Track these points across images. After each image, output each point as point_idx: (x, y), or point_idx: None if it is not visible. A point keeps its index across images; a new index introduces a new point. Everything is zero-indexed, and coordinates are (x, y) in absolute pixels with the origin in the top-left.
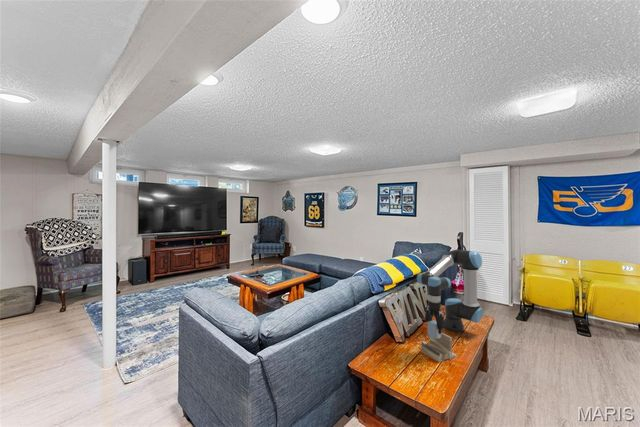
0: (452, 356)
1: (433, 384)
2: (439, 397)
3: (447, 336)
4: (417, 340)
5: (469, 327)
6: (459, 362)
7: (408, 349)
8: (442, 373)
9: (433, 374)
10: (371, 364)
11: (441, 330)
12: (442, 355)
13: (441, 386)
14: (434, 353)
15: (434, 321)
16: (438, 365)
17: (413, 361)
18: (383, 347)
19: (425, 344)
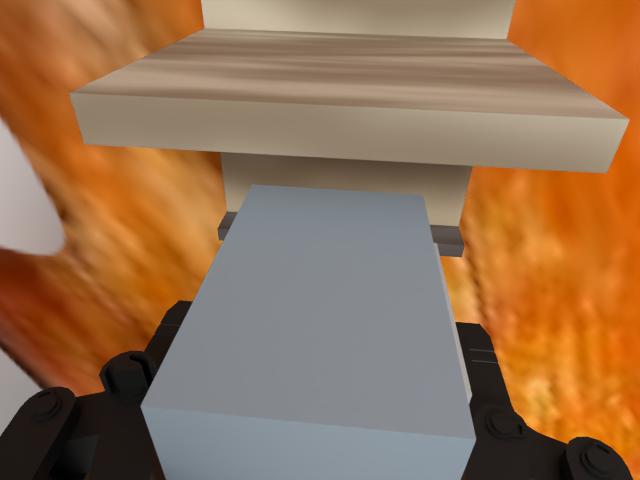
0: (505, 16)
1: (543, 397)
2: (614, 439)
3: (535, 156)
4: (31, 42)
5: None
6: (592, 11)
7: (171, 249)
8: (536, 289)
9: (495, 337)
10: None
11: (439, 273)
12: (465, 187)
13: (589, 382)
14: None
15: (246, 463)
16: (462, 235)
17: None
18: (97, 355)
19: None
